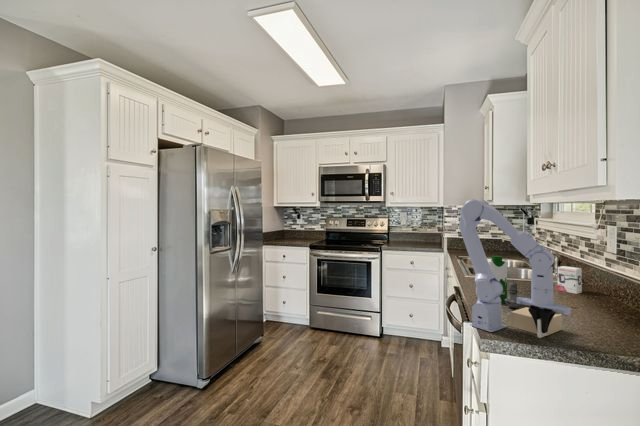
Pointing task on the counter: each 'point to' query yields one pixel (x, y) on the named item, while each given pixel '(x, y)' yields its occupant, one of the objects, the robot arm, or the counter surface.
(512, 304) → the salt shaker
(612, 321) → the counter surface
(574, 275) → the ink box
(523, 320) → the carton
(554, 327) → the flap
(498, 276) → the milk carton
